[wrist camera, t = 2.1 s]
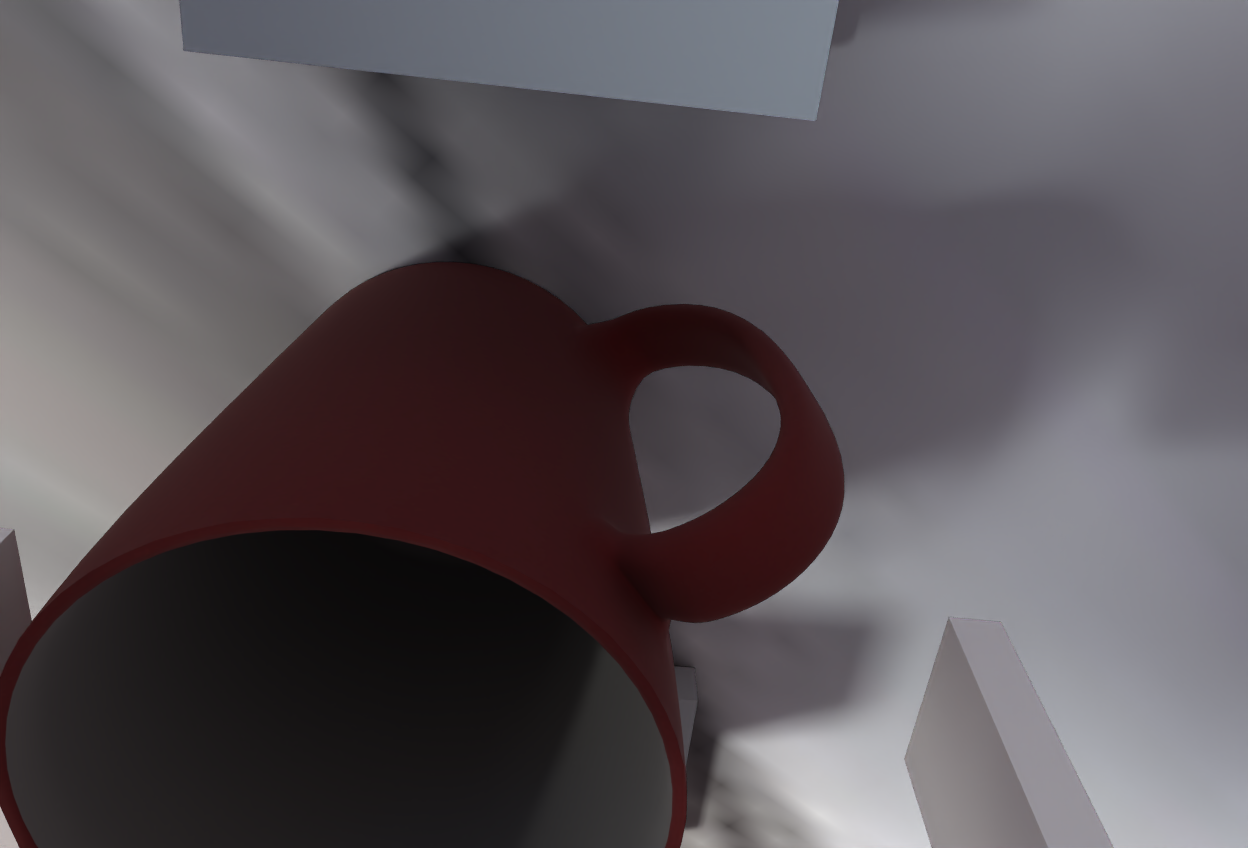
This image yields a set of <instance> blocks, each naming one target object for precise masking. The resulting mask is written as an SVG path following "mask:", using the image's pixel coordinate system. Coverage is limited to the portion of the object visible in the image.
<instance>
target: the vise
mask: <svg viewBox="0 0 1248 848" xmlns="http://www.w3.org/2000/svg"><path fill="white" fill-rule="evenodd" d="M179 1H180V13H181V25H182V38H183V50H184V51H190V52H199V53H208V54H217V55H226V56H235V57H244V58H253V59H262V60H271V61H280V62H289V63H298V64H307V65H316V66H325V67H334V68H343V69H352V70H361V71H370V72H379V73H388V74H397V75H406V76H415V77H424V78H433V79H442V80H451V81H460V82H469V83H478V84H487V85H496V86H505V87H514V88H523V89H532V90H541V91H550V92H559V93H568V94H577V95H586V96H595V97H604V98H613V99H622V100H631V101H640V102H649V103H658V104H667V105H676V106H685V107H694V108H703V109H712V110H721V111H730V112H739V113H748V114H757V115H766V116H775V117H784V118H793V119H802V120H811V121H816V119H817V114H818V108H819V103H820V98H821V93H822V87H823V82H824V77H825V71H826V66H827V61H828V56H829V50H830V45H831V40H832V35H833V29H834V24H835V19H836V13H837V8H838V3H839V0H179ZM674 669H675V676H676V684H677V692H678V700H679V708H680V716H681V725H682V733H683V744H684V754H685V765H686V763H687V757H688V752H689V746H690V741H691V736H692V730H693V725H694V719H695V714H696V709H697V703H698V696H697V686H696V676H695V668H690V667H677V666H674Z"/></svg>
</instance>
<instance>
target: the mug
mask: <svg viewBox="0 0 1248 848" xmlns="http://www.w3.org/2000/svg"><path fill="white" fill-rule="evenodd" d="M678 366H708V367H715V368H721V369H725V370H729V371H733V372H736V373H738V374H741V375H743V376H745V377H748V378H750V379H752V380H753V381H755V382H757V383H758V384H759V385H761V386H762V387H763V388H765V389H766V390H767V391H768V392H770V393H771V394H772V395H773V396H774V397H775V399H776V401H777V404H778V407H779V410H780V415H781V427H780V433H779V437H778V440H777V443H776V446H775V448H774V450H773V452H772V454H771V456H770V458H769V459H768V460H767V462H766V463H765V465H764V466H763V467H762V469H761V470H760V471H759V472H758V473H757V474H756V476H755V477H754V478H753V479H752V480H751V481H750V482H749V483H748V484H746V485H745V486H744V487H743V488H742V489H741V490H739V491H738V492H737V493H736V494H734V495H733V496H732V497H730V498H729V499H728V500H726V501H725V502H723V503H722V504H720V505H719V506H717V507H716V508H714V509H712V510H711V511H709V512H707V513H706V514H704V515H702V516H700V517H698V518H696V519H694V520H691V521H689V522H687V523H685V524H682V525H680V526H677V527H674V528H671V529H669V530H665V531H662V532H657V533H651V530H650V525H649V520H648V515H647V510H646V505H645V500H644V495H643V490H642V485H641V481H640V476H639V471H638V466H637V461H636V456H635V451H634V447H633V442H632V437H631V432H630V427H629V410H630V404H631V400H632V398H633V395H634V393H635V391H636V388H637V387H638V385H639V384H640V383H641V381H642V380H643V378H644V377H646V376H647V375H649V374H651V373H652V372H654V371H658V370H661V369H665V368H671V367H678ZM843 500H844V471H843V465H842V459H841V454H840V451H839V448H838V445H837V442H836V439H835V436H834V434H833V431H832V429H831V427H830V425H829V423H828V421H827V419H826V416H825V414H824V412H823V411H822V409H821V407H820V405H819V404H818V402H817V401H816V399H815V397H814V396H813V394H812V392H811V391H810V389H809V388H808V386H807V384H806V383H805V381H804V380H803V378H802V377H801V375H800V373H799V372H798V371H797V369H796V368H795V366H794V365H793V364H792V362H791V361H790V360H789V359H788V357H787V356H786V355H785V354H784V352H783V351H782V350H781V349H780V348H779V347H778V346H777V344H776V343H775V342H773V341H772V340H771V339H770V338H769V337H768V336H767V335H766V334H765V333H764V332H763V331H761V330H760V329H758V328H757V327H755V326H754V325H753V324H751V323H750V322H748V321H746V320H745V319H743V318H741V317H739V316H736V315H734V314H732V313H730V312H727V311H724V310H721V309H718V308H714V307H708V306H703V305H692V304H674V305H661V306H654V307H648V308H644V309H640V310H636V311H633V312H631V313H628V314H626V315H623V316H620V317H618V318H615V319H612V320H608V321H604V322H600V323H595V324H589V325H587V324H586V323H585V322H584V321H583V320H582V319H581V318H580V317H579V316H578V315H577V314H576V313H575V312H574V311H573V310H572V309H571V308H570V307H568V306H567V305H566V304H565V303H563V302H562V301H561V300H560V299H558V298H557V297H555V296H554V295H552V294H551V293H549V292H548V291H546V290H545V289H543V288H541V287H540V286H538V285H536V284H534V283H532V282H530V281H528V280H526V279H524V278H521V277H519V276H516V275H514V274H511V273H509V272H505V271H502V270H499V269H495V268H492V267H487V266H482V265H477V264H469V263H459V262H433V263H424V264H416V265H411V266H406V267H402V268H398V269H395V270H392V271H389V272H386V273H383V274H380V275H378V276H376V277H374V278H371V279H369V280H367V281H365V282H364V283H362V284H360V285H358V286H357V287H355V288H353V289H352V290H350V291H349V292H348V293H346V294H345V295H344V296H342V297H341V298H340V299H339V300H337V301H336V302H335V303H334V304H333V305H332V306H330V307H329V308H328V309H327V310H326V311H325V312H324V313H323V314H322V315H321V316H320V317H319V318H318V319H317V320H316V321H315V322H314V323H313V324H312V325H310V326H309V327H308V328H307V329H306V330H305V331H304V332H303V333H302V334H301V335H300V336H299V337H298V338H297V339H296V340H295V341H294V342H293V343H292V344H291V345H290V346H289V347H288V348H287V349H286V350H285V351H284V352H283V353H281V354H280V355H279V356H278V357H277V358H276V359H275V360H274V361H273V362H272V363H271V364H270V365H269V366H268V367H267V368H266V369H265V370H264V371H263V372H262V373H261V374H260V375H259V376H258V377H257V378H256V379H255V380H254V381H253V382H252V383H251V384H250V385H249V386H248V387H247V388H246V389H245V390H244V391H243V392H242V393H241V394H240V395H239V396H238V397H237V398H236V399H235V400H234V401H233V402H231V403H230V404H229V405H228V406H227V407H226V408H225V409H224V410H223V411H222V412H221V413H220V414H219V415H218V416H217V417H216V418H215V419H214V420H213V421H212V422H211V423H210V424H209V425H208V426H207V427H206V428H205V429H204V430H203V431H202V432H201V433H200V434H199V435H198V436H197V437H196V438H195V439H194V440H193V441H192V442H191V443H190V444H189V445H188V446H187V447H186V448H185V450H184V451H183V452H182V453H181V454H180V455H179V456H178V457H177V458H176V459H175V460H174V461H173V462H172V463H171V464H170V465H169V466H168V467H167V468H166V469H165V470H164V471H163V472H162V473H161V474H160V475H159V476H158V477H157V478H156V479H155V480H154V481H153V483H152V484H151V485H150V486H149V487H148V488H147V489H146V490H145V491H144V492H143V493H142V494H141V495H140V496H139V497H138V498H137V499H136V500H135V501H134V502H133V503H132V505H131V506H130V507H129V508H128V509H127V510H126V511H125V512H124V513H123V514H122V515H121V516H120V517H119V519H118V520H117V521H116V522H115V523H114V524H113V525H112V527H111V528H110V529H109V530H108V531H107V532H106V533H105V534H104V536H103V537H102V538H101V539H100V540H99V541H98V542H97V543H96V545H95V546H94V547H93V548H92V549H91V550H90V551H89V552H88V554H87V555H86V556H85V557H84V558H83V559H82V560H81V562H80V563H79V564H78V565H77V566H76V568H75V569H74V570H73V571H72V572H71V574H70V575H69V576H68V577H67V579H66V580H65V581H64V582H63V583H62V585H61V586H60V587H59V588H58V589H57V591H56V592H55V593H54V594H53V596H52V597H51V598H50V599H49V600H48V602H47V603H46V604H45V605H44V607H43V608H42V609H41V611H40V612H39V613H38V614H37V616H36V617H35V618H34V619H33V621H32V622H31V623H30V625H29V626H28V627H27V629H26V630H25V632H24V633H23V634H22V636H21V637H20V638H19V640H18V642H17V643H16V645H15V647H14V649H13V651H12V652H11V654H10V656H9V658H8V660H7V661H6V663H5V666H4V668H3V671H2V673H1V676H0V807H1V809H2V811H3V813H4V816H5V818H6V820H7V822H8V824H9V827H10V829H11V831H12V833H13V835H14V837H15V839H16V841H17V843H18V846H19V848H680V846H681V842H682V838H683V833H684V828H685V823H686V811H687V776H686V765H685V754H684V744H683V733H682V725H681V716H680V708H679V700H678V692H677V684H676V676H675V669H674V661H673V653H672V646H671V640H670V634H669V627H670V622H671V620H676V621H682V622H690V623H702V622H709V621H714V620H718V619H721V618H724V617H727V616H730V615H733V614H736V613H738V612H741V611H743V610H746V609H748V608H750V607H752V606H754V605H756V604H758V603H760V602H762V601H764V600H766V599H767V598H769V597H771V596H772V595H774V594H775V593H777V592H779V591H780V590H782V589H783V588H784V587H786V586H787V585H788V584H790V583H791V582H792V581H793V580H795V579H796V578H797V577H798V576H799V575H800V574H801V573H803V572H804V571H805V570H806V569H807V568H808V566H809V565H810V564H811V563H812V562H813V561H814V560H815V559H816V557H817V556H818V555H819V554H820V552H821V551H822V550H823V549H824V547H825V545H826V544H827V542H828V541H829V539H830V537H831V536H832V534H833V531H834V529H835V527H836V525H837V523H838V520H839V517H840V514H841V511H842V506H843Z"/></svg>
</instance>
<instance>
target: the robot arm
mask: <svg viewBox="0 0 1248 848" xmlns="http://www.w3.org/2000/svg"><path fill="white" fill-rule="evenodd" d="M31 622H32V620H31V615H30V609H29V604H28V599H27V594H26V589H25V583H24V578H23V573H22V568H21V562H20V557H19V552H18V547H17V541H16V536H15V531H14V529H8V528H0V676H1V673H2V671H3V668H4V666H5V663H6V661H7V660H8V658H9V656H10V654H11V652H12V651H13V649H14V647H15V645H16V643H17V642H18V640H19V638H20V637H21V636H22V634H23V633H24V632H25V630H26V629H27V627H28V626H29V625H30V623H31ZM904 760H905V763H906V766H907V769H908V772H909V776H910V779H911V782H912V785H913V789H914V792H915V795H916V798H917V802H918V805H919V808H920V811H921V814H922V818H923V821H924V824H925V827H926V831H927V834H928V837H929V840H930V844H931V847H932V848H1114V847H1113V845H1112V843H1111V841H1110V839H1109V837H1108V835H1107V833H1106V831H1105V829H1104V827H1103V825H1102V823H1101V821H1100V819H1099V817H1098V815H1097V813H1096V811H1095V809H1094V807H1093V805H1092V803H1091V801H1090V799H1089V797H1088V795H1087V793H1086V791H1085V789H1084V787H1083V785H1082V783H1081V781H1080V779H1079V777H1078V775H1077V773H1076V771H1075V769H1074V767H1073V765H1072V763H1071V761H1070V759H1069V757H1068V755H1067V753H1066V751H1065V749H1064V747H1063V745H1062V743H1061V741H1060V739H1059V737H1058V735H1057V733H1056V731H1055V729H1054V727H1053V725H1052V723H1051V721H1050V719H1049V717H1048V715H1047V713H1046V711H1045V709H1044V707H1043V705H1042V703H1041V701H1040V699H1039V697H1038V695H1037V693H1036V691H1035V689H1034V687H1033V685H1032V683H1031V681H1030V679H1029V677H1028V675H1027V673H1026V671H1025V669H1024V667H1023V665H1022V662H1021V660H1020V658H1019V656H1018V654H1017V652H1016V650H1015V648H1014V646H1013V644H1012V642H1011V640H1010V638H1009V636H1008V634H1007V632H1006V630H1005V628H1004V626H1003V624H1002V622H996V621H986V620H975V619H965V618H954V617H949V618H948V621H947V625H946V628H945V631H944V634H943V637H942V640H941V644H940V647H939V650H938V653H937V656H936V660H935V663H934V666H933V669H932V672H931V675H930V679H929V682H928V685H927V688H926V691H925V694H924V698H923V701H922V704H921V707H920V710H919V714H918V717H917V720H916V723H915V726H914V729H913V733H912V736H911V739H910V742H909V745H908V749H907V752H906V755H905V758H904Z"/></svg>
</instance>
